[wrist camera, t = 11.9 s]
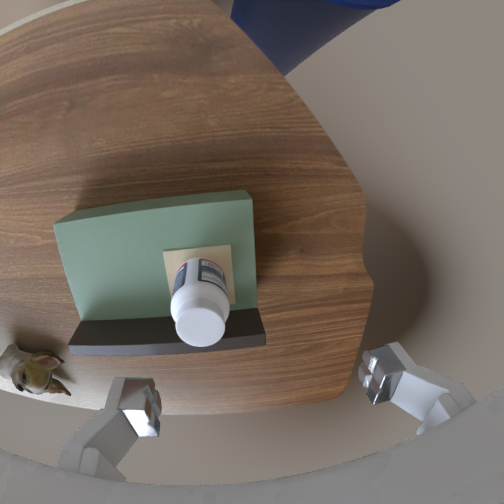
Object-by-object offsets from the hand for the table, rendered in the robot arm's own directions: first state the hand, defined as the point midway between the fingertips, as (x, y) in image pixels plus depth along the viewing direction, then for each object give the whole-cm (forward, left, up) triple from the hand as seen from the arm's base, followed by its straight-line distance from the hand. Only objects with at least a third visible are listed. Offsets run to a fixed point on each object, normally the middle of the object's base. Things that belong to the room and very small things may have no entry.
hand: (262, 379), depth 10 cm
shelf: (+5, -8, -26) cm, 28 cm away
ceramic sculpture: (+23, -37, -26) cm, 51 cm away
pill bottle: (+5, -3, -20) cm, 21 cm away
